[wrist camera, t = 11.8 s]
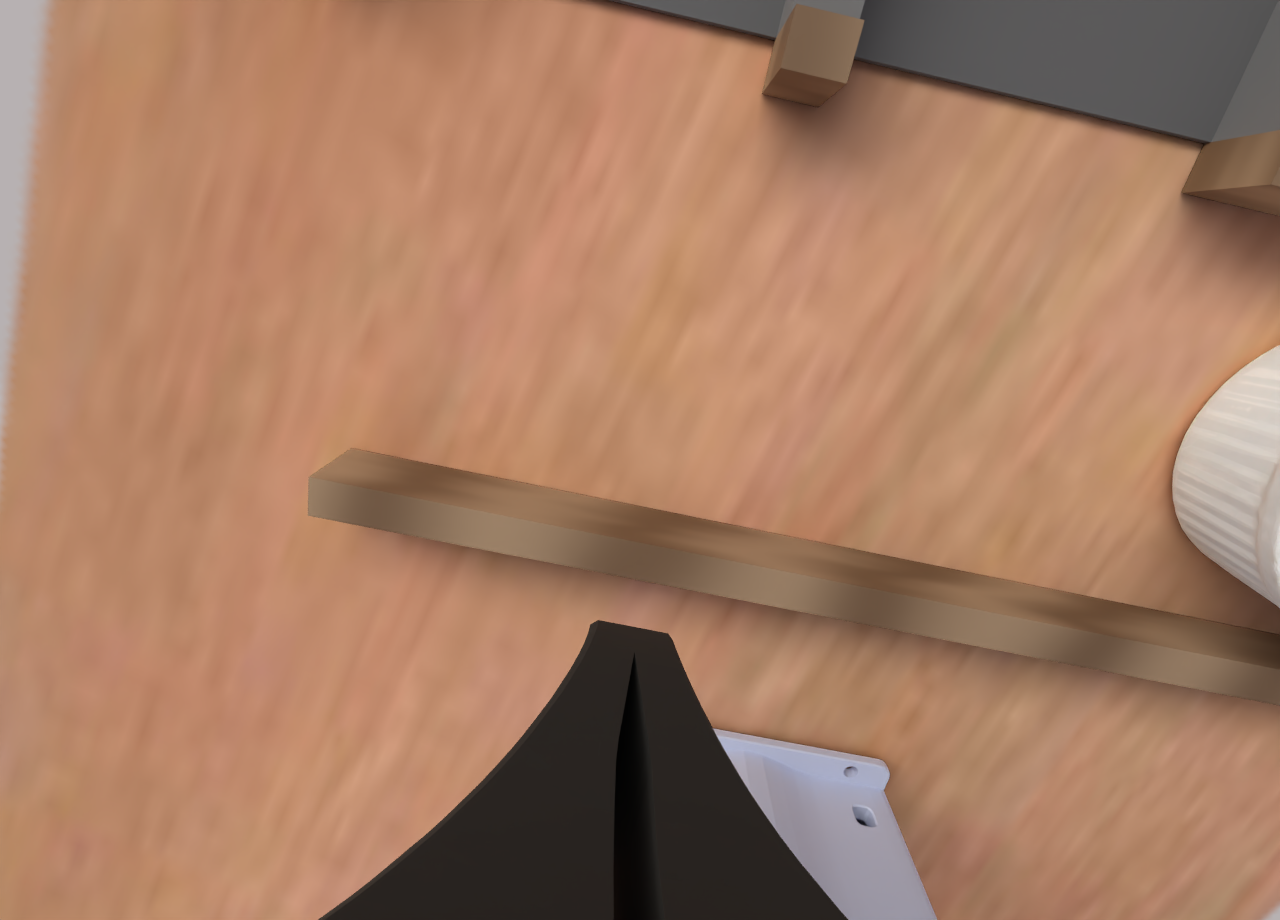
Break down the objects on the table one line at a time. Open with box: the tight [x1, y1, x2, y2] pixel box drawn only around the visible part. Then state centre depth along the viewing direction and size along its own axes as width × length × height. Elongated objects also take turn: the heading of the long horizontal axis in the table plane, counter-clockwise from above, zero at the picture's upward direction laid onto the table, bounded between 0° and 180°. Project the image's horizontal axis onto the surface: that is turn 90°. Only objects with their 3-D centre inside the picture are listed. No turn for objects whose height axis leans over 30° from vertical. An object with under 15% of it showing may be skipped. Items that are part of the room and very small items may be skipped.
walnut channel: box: [308, 4, 1280, 706], centre depth 16 cm, size 34×14×4 cm, turn 78°
